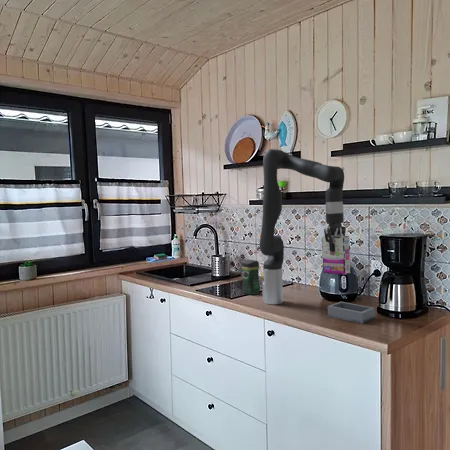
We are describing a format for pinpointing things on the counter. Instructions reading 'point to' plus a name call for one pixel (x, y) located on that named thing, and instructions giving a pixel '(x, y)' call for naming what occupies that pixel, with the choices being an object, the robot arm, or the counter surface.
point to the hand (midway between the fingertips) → (335, 250)
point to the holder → (351, 312)
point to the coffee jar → (250, 277)
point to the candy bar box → (336, 256)
